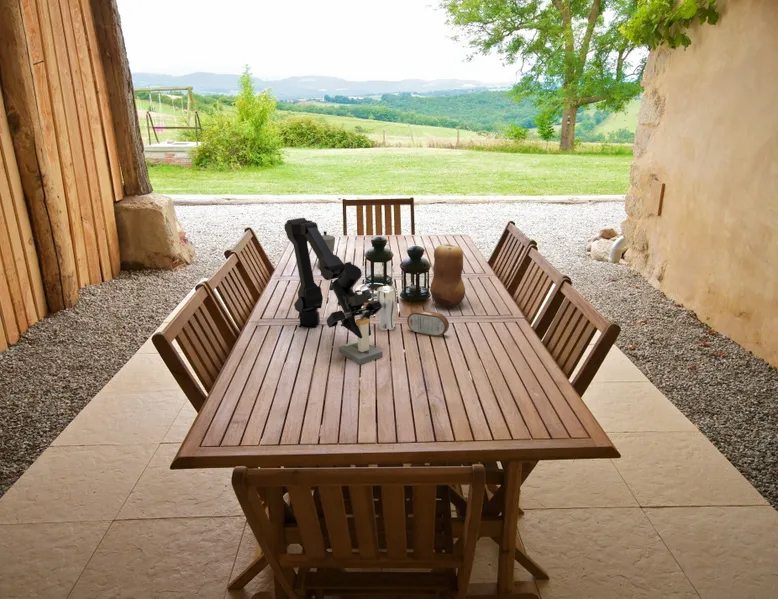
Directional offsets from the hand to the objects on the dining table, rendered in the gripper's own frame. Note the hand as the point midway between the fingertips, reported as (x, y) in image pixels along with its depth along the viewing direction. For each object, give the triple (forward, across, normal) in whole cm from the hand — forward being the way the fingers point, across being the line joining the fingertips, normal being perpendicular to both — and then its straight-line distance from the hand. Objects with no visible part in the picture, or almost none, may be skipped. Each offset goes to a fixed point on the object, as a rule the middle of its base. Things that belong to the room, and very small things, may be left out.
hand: (365, 336), depth 185 cm
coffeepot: (-60, +43, +72) cm, 103 cm away
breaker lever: (+3, 0, +5) cm, 5 cm away
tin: (+4, +28, +7) cm, 29 cm away
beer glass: (-6, +20, +17) cm, 27 cm away
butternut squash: (-8, +53, +19) cm, 57 cm away
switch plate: (+3, 0, +8) cm, 8 cm away
